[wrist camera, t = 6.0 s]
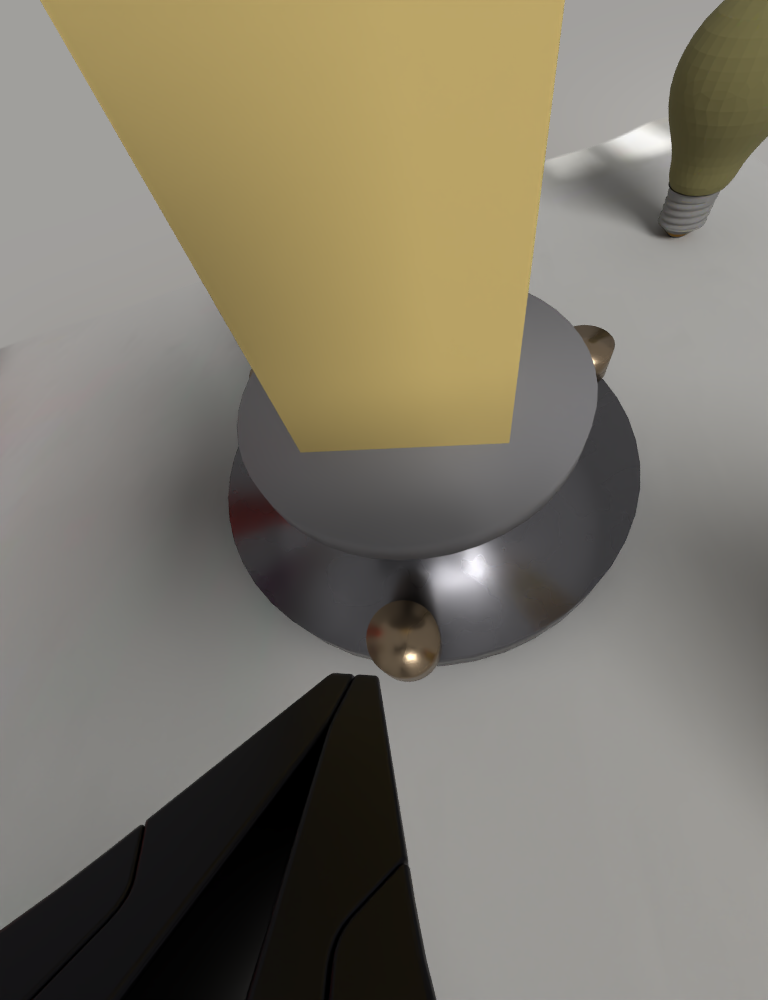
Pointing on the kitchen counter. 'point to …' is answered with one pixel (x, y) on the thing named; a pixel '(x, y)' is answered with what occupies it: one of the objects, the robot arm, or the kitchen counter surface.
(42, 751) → the kitchen counter surface
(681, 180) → the light bulb
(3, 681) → the kitchen counter surface
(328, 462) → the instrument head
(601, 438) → the base
